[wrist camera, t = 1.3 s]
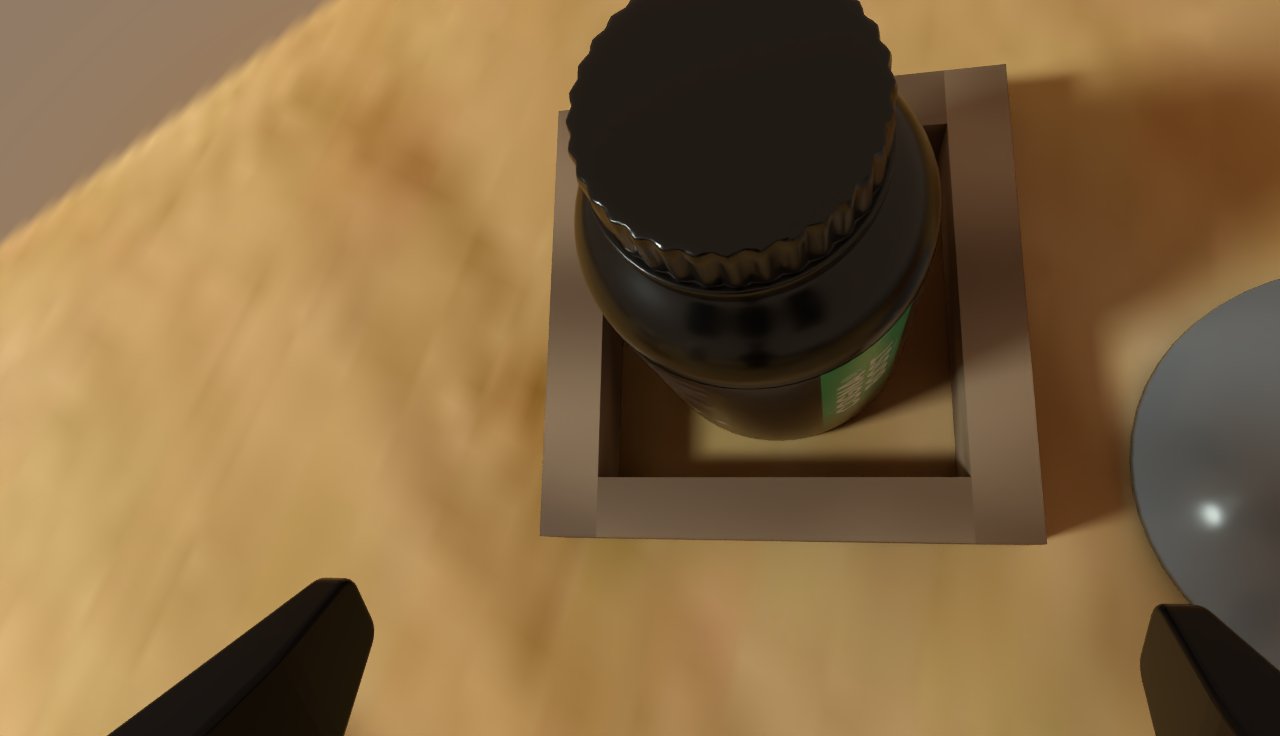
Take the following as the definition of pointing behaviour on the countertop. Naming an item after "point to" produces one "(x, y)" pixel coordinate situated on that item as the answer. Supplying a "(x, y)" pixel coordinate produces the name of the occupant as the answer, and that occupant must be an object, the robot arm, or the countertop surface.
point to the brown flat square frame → (829, 506)
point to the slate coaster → (1218, 465)
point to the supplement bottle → (753, 205)
